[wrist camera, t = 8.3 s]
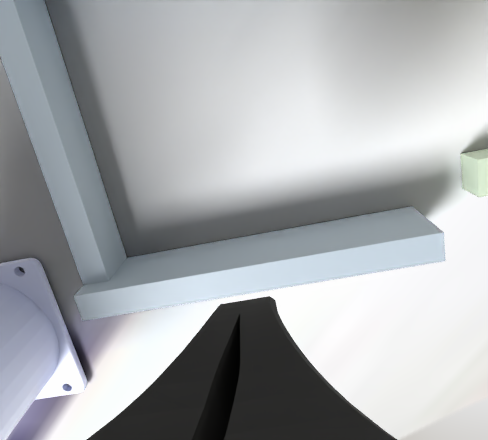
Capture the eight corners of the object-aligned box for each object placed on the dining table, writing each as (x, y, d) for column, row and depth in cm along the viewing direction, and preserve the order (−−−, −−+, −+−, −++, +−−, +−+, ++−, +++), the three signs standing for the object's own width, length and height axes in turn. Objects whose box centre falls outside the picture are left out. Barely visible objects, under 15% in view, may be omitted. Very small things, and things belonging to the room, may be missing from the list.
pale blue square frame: (111, 283, 21) (82, 321, 18) (3, -35, 17) (-62, -64, 13) (414, 230, 19) (445, 261, 16) (381, -137, 15) (415, -199, 12)
